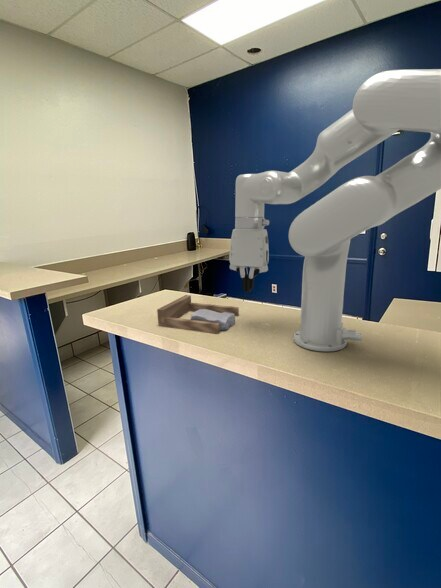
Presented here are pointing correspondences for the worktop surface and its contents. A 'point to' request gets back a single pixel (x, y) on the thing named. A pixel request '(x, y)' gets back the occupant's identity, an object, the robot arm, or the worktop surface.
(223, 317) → the stone block
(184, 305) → the brown u-shaped frame
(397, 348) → the worktop surface
